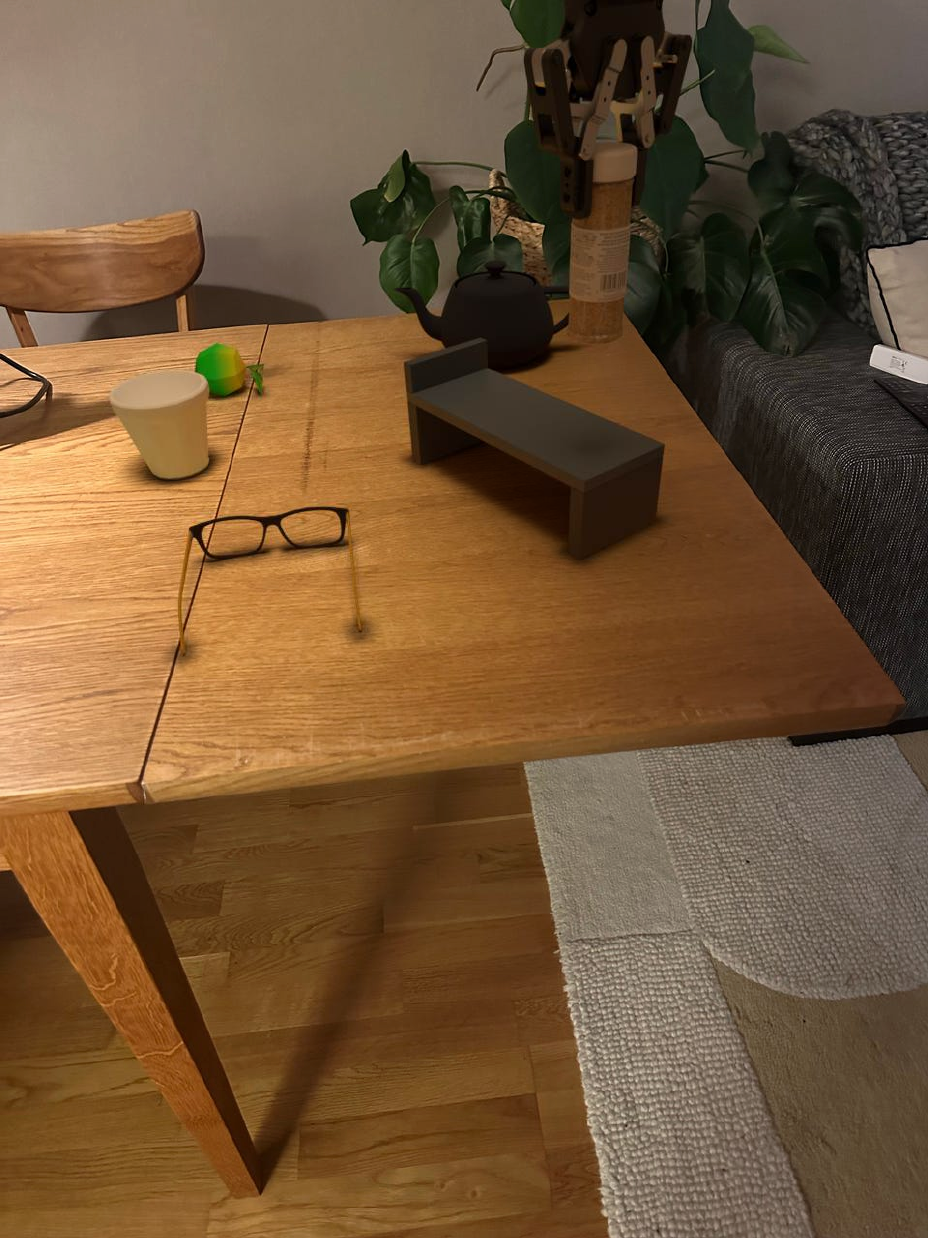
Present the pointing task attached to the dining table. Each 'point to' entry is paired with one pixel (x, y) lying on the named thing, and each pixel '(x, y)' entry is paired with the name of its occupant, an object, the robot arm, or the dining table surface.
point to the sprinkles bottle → (602, 248)
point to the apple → (225, 369)
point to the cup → (166, 420)
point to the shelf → (536, 440)
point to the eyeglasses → (265, 521)
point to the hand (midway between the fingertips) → (602, 209)
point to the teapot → (494, 314)
